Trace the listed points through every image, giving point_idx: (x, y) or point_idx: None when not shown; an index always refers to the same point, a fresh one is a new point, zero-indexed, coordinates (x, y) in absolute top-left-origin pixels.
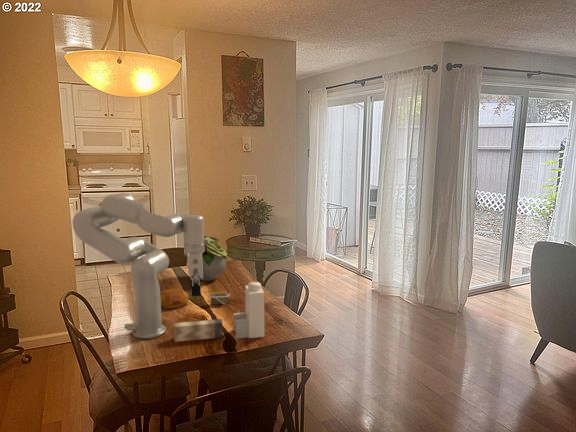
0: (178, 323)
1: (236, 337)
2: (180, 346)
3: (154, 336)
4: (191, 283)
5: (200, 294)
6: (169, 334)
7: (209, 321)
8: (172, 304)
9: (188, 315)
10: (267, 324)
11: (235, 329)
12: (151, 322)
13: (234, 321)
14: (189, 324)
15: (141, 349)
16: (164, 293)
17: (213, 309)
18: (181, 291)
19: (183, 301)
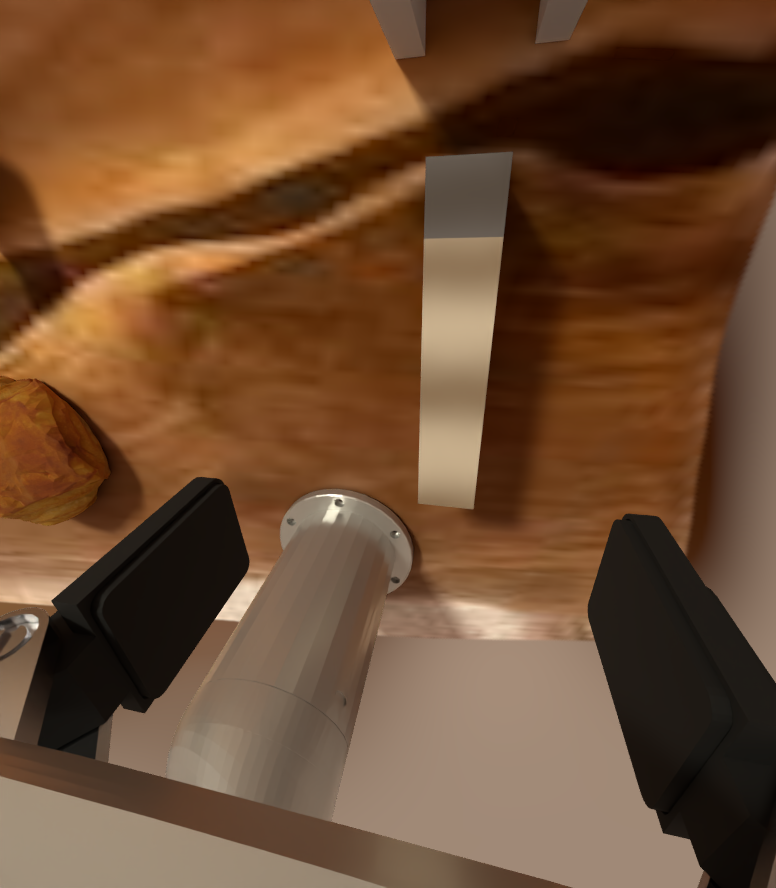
0: (428, 484)
1: (571, 30)
2: (537, 439)
3: (407, 535)
4: (212, 615)
5: (659, 524)
6: (383, 476)
7: (449, 279)
8: (85, 458)
9: (167, 380)
10: None
11: (547, 9)
12: (380, 589)
13: (413, 5)
14: (463, 426)
15: (503, 575)
16: (15, 509)
17: (62, 225)
18: None
19: (40, 408)
